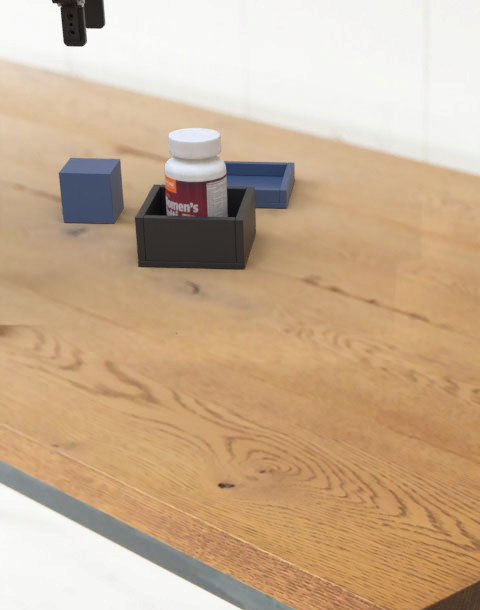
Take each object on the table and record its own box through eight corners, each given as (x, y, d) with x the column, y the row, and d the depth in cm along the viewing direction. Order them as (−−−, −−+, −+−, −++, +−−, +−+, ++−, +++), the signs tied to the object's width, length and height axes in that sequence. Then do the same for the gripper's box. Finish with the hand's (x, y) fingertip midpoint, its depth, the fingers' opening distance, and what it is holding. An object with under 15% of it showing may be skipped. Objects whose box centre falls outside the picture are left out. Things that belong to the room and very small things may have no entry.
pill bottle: (156, 247, 137) (149, 137, 132) (191, 230, 142) (186, 122, 136) (206, 258, 134) (201, 146, 129) (240, 240, 139) (237, 131, 134)
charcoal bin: (138, 266, 134) (134, 217, 131) (156, 230, 143) (153, 184, 141) (244, 269, 134) (242, 219, 131) (256, 233, 143) (254, 186, 140)
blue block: (63, 222, 145) (58, 172, 143) (74, 206, 150) (70, 157, 147) (114, 223, 145) (110, 173, 142) (124, 207, 150) (120, 158, 147)
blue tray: (165, 205, 151) (164, 187, 150) (180, 177, 160) (179, 159, 159) (286, 208, 150) (286, 190, 149) (294, 179, 159) (294, 162, 158)
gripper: (50, -144, 136) (65, 22, 144) (11, -130, 124) (30, 51, 132) (123, -143, 136) (135, 23, 144) (92, -128, 123) (107, 52, 131)
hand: (85, 36), depth 138 cm, fingers open, 8 cm apart
